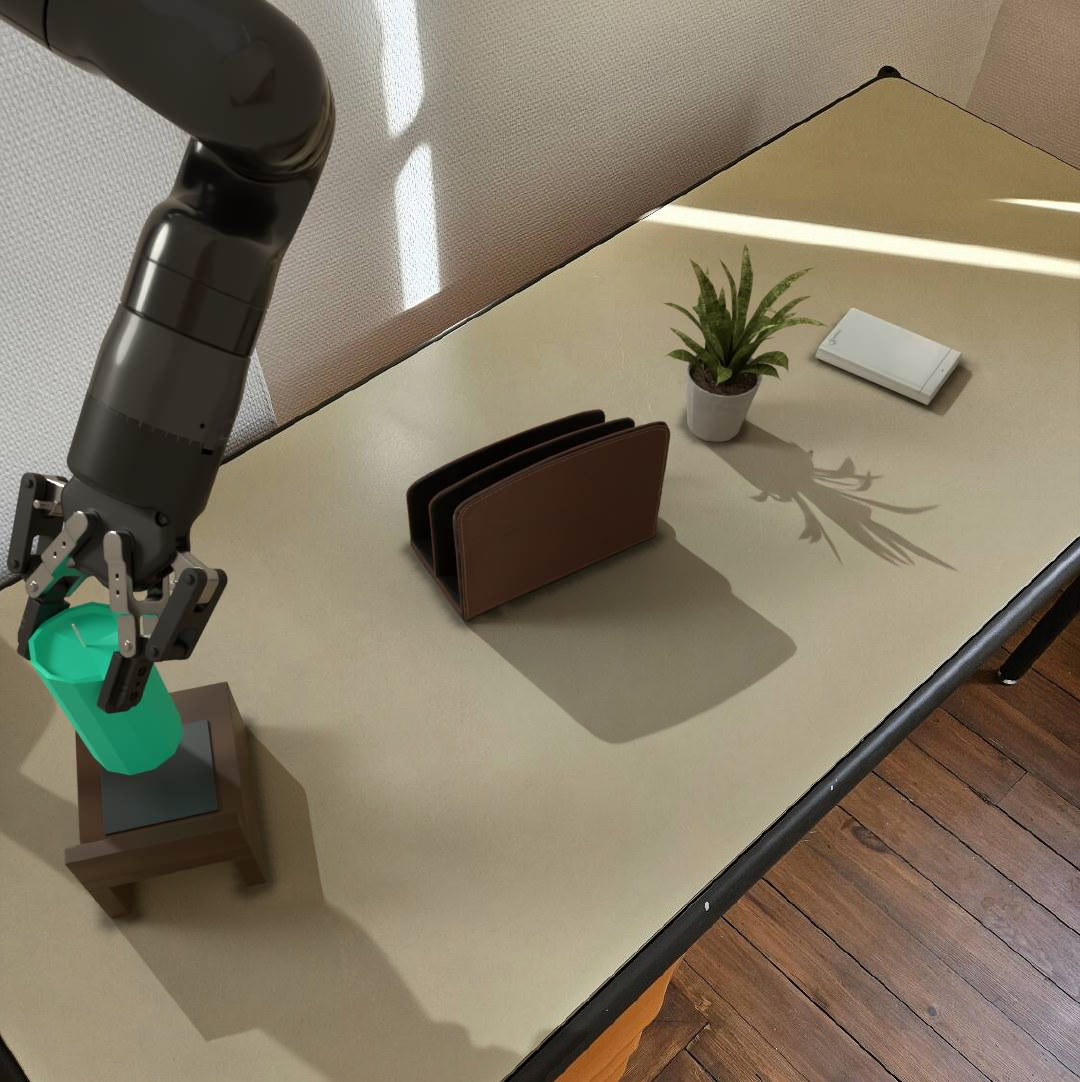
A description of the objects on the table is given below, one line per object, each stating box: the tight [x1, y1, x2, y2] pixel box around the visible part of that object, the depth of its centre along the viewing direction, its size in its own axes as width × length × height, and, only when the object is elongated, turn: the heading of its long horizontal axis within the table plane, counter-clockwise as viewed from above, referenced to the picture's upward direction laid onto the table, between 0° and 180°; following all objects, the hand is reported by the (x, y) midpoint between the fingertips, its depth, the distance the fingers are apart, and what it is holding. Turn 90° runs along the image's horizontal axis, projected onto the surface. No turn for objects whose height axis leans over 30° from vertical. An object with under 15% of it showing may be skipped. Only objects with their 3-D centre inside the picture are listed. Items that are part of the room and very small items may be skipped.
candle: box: [28, 601, 183, 775], centre depth 65 cm, size 6×6×12 cm
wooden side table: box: [63, 680, 267, 919], centre depth 75 cm, size 14×11×9 cm
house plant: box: [663, 243, 829, 443], centre depth 97 cm, size 14×14×16 cm
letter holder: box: [405, 408, 671, 621], centre depth 89 cm, size 10×20×14 cm, turn 121°
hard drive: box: [814, 307, 963, 406], centre depth 108 cm, size 2×8×12 cm
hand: (73, 682), depth 62 cm, fingers closed on candle, 6 cm apart
